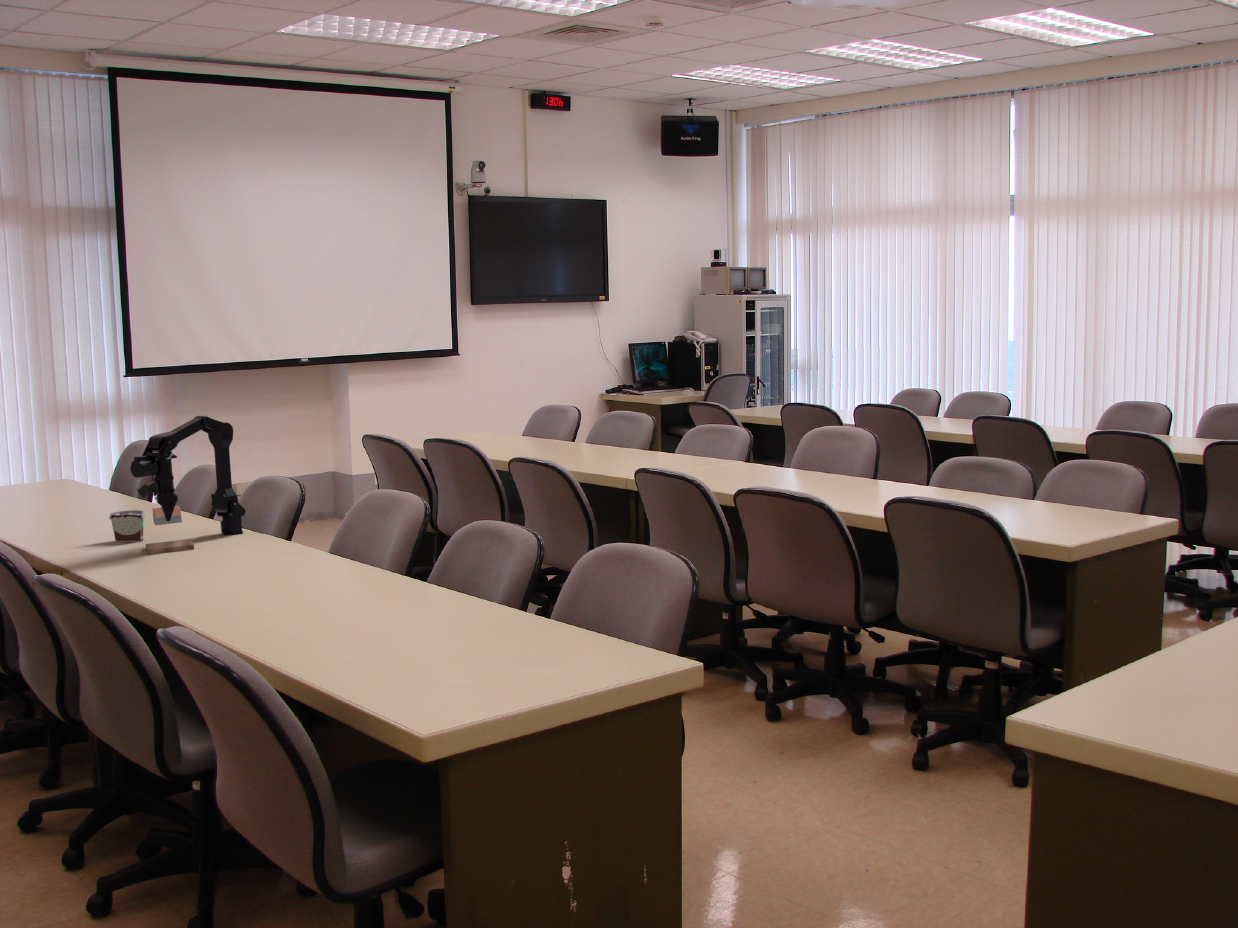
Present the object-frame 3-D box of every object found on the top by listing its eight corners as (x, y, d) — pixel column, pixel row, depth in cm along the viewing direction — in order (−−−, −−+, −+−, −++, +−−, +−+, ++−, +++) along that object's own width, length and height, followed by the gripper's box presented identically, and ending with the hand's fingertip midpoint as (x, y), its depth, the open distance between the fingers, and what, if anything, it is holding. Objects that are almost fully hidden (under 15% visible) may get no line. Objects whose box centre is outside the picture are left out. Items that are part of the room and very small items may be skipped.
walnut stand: (190, 543, 372) (190, 538, 372) (194, 549, 362) (193, 544, 362) (146, 548, 365) (145, 543, 365) (148, 554, 356) (148, 549, 356)
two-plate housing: (153, 523, 363) (152, 508, 362) (179, 520, 367) (178, 505, 366) (155, 525, 358) (154, 510, 358) (181, 522, 362) (180, 507, 362)
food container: (154, 537, 383) (151, 509, 382) (145, 541, 377) (142, 513, 376) (121, 538, 385) (118, 510, 383) (111, 541, 379) (108, 513, 377)
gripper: (135, 472, 365) (139, 518, 367) (138, 479, 348) (143, 527, 351) (170, 469, 370) (174, 514, 372) (175, 475, 353) (180, 523, 356)
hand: (167, 519), depth 362 cm, fingers closed on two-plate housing, 5 cm apart
